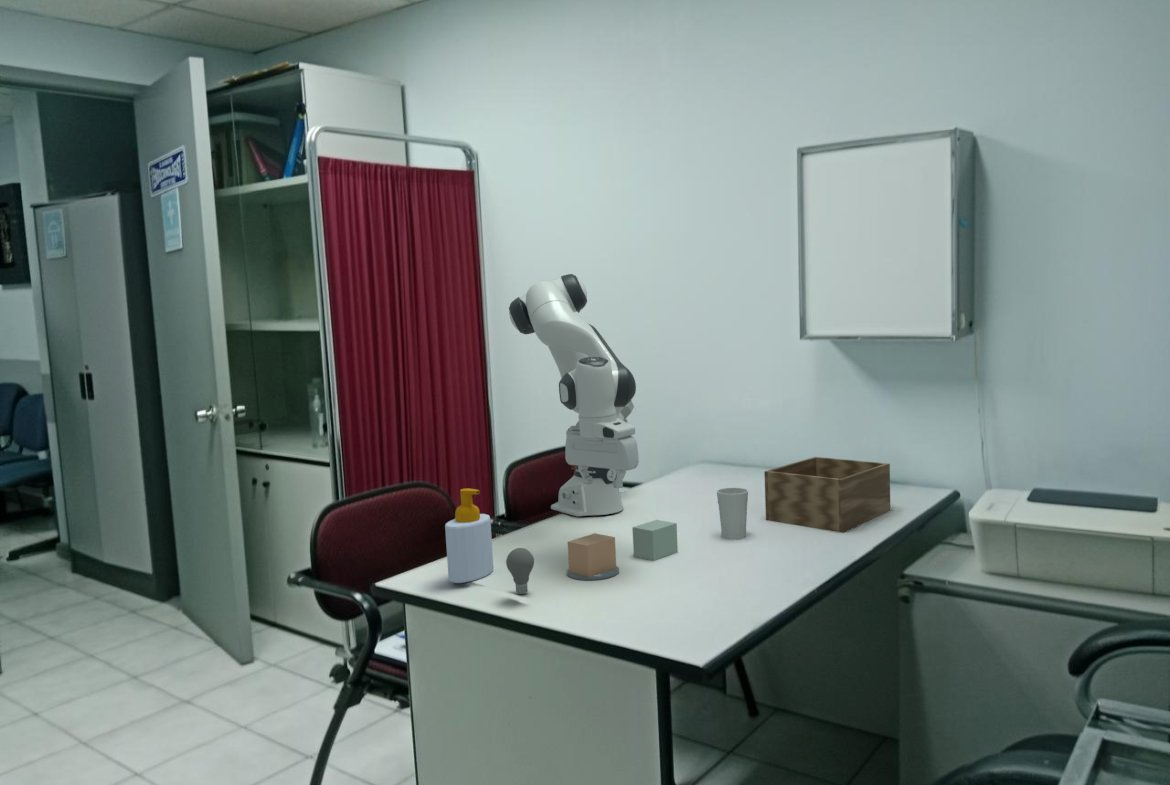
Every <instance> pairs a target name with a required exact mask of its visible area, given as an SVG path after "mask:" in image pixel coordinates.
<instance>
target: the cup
mask: <svg viewBox="0 0 1170 785" xmlns="http://www.w3.org/2000/svg"><path fill="white" fill-rule="evenodd" d="M716 496H717V504H718V512H719V520H720V530H721V538H722V539H724V540H731V541H732V540H742V539H745V538H746V537H747V520H748V519H747V516H748V501H749V490H748V489H747V488H743V487H722V488H719V489H717V490H716Z"/></svg>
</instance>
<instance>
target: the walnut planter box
mask: <svg viewBox="0 0 1170 785" xmlns="http://www.w3.org/2000/svg"><path fill="white" fill-rule="evenodd" d="M890 466H891V463H887V462H874V461H867V460H866V461H863V460H853V459H843V458H833V457H832V458H831V457H823V456H821V457H820V456H813V457H809V458H806V459H803V460H800V461H796V462H795V461H794V462H793V463H788V464H786V465H782V466H779V467H776V468H772V469H768V470H765V471H764V472H763V473H764V501H765V502H764V504H765V507H764V508H765V521H767V522H768V521H769V522H775V523H781V524H787V525H793V526H799V527H806V528H812V529H818V530H823V531H829V532H835V533H840V534H841V533H842V534H844V533H846V532H848V531H851V530H852V529H854V528H856V527H859V526H860V525H863V524H865V523H867V522H869V521H871V520H874V519H875V518H878V517H880V516H881V515H884V514H886V513H888V512H891V473H890V472H891V468H890Z"/></svg>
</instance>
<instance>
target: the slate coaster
mask: <svg viewBox="0 0 1170 785" xmlns="http://www.w3.org/2000/svg"><path fill="white" fill-rule="evenodd" d="M619 573H620V568H619V566H617V565H616V568H614V569H611V570H608V571H606V572H603V573H600V574H597V575H594V576H591V577H586V576H582V575H578V574H574V573H570V572H569V568H568V569H567V570H566V575H567V576H568V578H570V579H573V580H576V581H577V580H578V581H585V582H586V581H587V582H588V581H590V582H591V581H592V582H593V581H601V580H608V579H611V578H613V577H614V578H615V577H616V576H617V575H618V574H619Z"/></svg>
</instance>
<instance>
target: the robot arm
mask: <svg viewBox="0 0 1170 785" xmlns="http://www.w3.org/2000/svg"><path fill="white" fill-rule="evenodd" d="M587 303H588V292H587V288H586V286H585V284H584V283H583V282H582V280H581V279H580V278H579V277H577V276H576V275H575V274H573V273H568V274H565V275H562V276H560V277H559V278H558V277H557V278H555V279H553V280H550V281H549V280H540V281H538V282H535V283H534V284H532V285H531V286H530V287H529V288H528V289H527V291H526V293H525V294H523V295H522V296H518V297H516V298H515V299H514V300H512V301H511V302H510V304H509V307H508V312H509V313H508V314H509V315H508V316H509V319H510V322H511V324H512V325H513V327H514V328H515V329H516V330H517V331H518V332H519V333H520V334H523V335H531V334H535V335H536V336H537V338H538V339H539V341H540V342H541V343H542V344H544V345H545V346H547V347H548V349H549V352H550V353H551V356H552V358H553V360H554V362H555V364H556V366H557V369H558V371H559V373H560V374H559V375H560V380H559V382H558V390H559V391H558V393H559V399H560V403H561V404H562V405H563V406H564V407H566V409H568V410H570V411H573V412H575V413H577V414H578V421H579V426H575V425H570V427H569V428H568V429H567V430H566V432H565V434H566V436H565V437H566V438H565V452H564V453H565V454H564V457H565V462H566V463H567V464H568V465H570V466H571V470H574V471H573V476H572V477H571V478H569V480H568V481H566V482H564V484H563V485H562V486H561V487H560V488H559V491H558V501H556V502H555V503H553V504H551V505H550V509H551V510H554V511H558V512H560V513H564V514H567V515H571V516H575V517H583V516H585V517H586V516H603V515H604V516H605V515H609V514H616V513H618V512H621V511H623V510H624V507H623V506H624V505H623V501H622V499H621V495H620V489H622V488H623V487H624V485H623V484H624V483H623V480H624V478H625V475H626V474H627V472H628V471H632V470H634V469H636V468H637V467H638V465H639V462H640V460H639V449H638V444H637V440H636V438H635V437H634V435H635V434H636V427H635V426H634V425H633V424H630V423H629V422H628V423H627V422H625V421H623V420H621V419H619V418H618V415H619V413H620V412H621V411H622V409H623V407H625V406H626V405H627V404H628V403H629V402H630V401H632V400H633V398H634V397H635V394H636V391H637V384H636V380H635V377H634V374H633V373H632V372H631V371H630V369H628V367H627V366H626V365H625V364H623V363H622V362H621V360H620V359H619V358H618V357H617V356H616V354H615V353H614V351H613V350H612V348H611V347H610V346H609V344H608V343H607V341H606V340H605V339H604V337H603V336H602V335H601V333H600V332H599V330H597V328H596V327H595V326H594V325H592V324H591V323H588V322H586V321H585V320H584V319H582V318H581V317H579V315H578V314H579V313H580V312H581V311H582V310H583V309H584V308H585V307H586V305H587ZM576 312H577V313H578V314H576Z"/></svg>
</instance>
